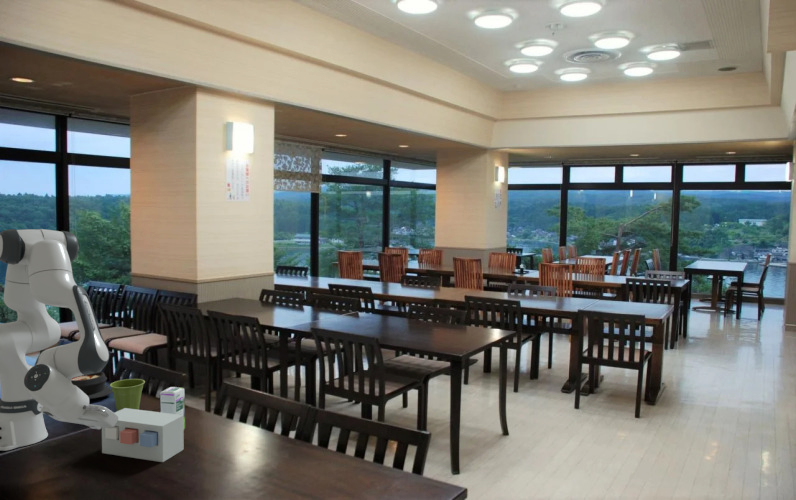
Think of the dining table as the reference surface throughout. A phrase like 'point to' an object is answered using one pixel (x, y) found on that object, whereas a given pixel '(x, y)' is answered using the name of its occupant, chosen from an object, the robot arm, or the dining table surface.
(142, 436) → the blue key
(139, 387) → the plant pot
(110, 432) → the white key
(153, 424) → the key console
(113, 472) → the dining table surface
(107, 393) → the casserole
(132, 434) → the red key
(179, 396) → the syrup box
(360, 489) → the dining table surface
